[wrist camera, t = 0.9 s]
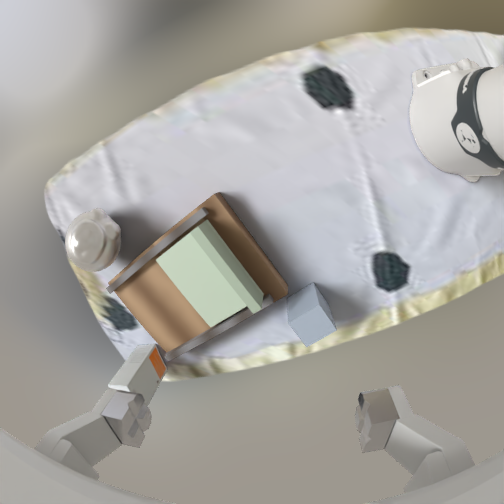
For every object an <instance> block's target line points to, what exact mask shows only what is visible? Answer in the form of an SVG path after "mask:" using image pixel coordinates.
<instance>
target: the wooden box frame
mask: <svg viewBox="0 0 504 504" xmlns="http://www.w3.org/2000/svg"><path fill="white" fill-rule="evenodd" d="M207 219H208V221H209V222H210V223H211V225H212V226H213V227H214V229H215V230H216V231H217V233H218V234H219V235H220V237H221V238H222V239H223V241H224V242H225V243H226V245H227V246H228V247H229V249H230V250H231V251H232V253H233V254H234V255H235V257H236V258H237V259H238V260H239V262H240V263H241V264H242V266H243V267H244V268H245V270H246V271H247V272H248V274H249V275H250V276H251V278H252V279H253V280H254V281H255V283H256V284H257V285H258V287H259V288H260V289H261V291H262V292H263V293H264V295H263V303H262V309H264V308H266V307H267V306H269V305H271V304H272V303H274V302H276V301H277V300H279V299H281V298H282V297H284V296H286V295H287V294H288V285H287V283H286V282H285V281H284V279H283V278H282V277H281V275H280V274H279V272H278V271H277V270H276V268H275V267H274V266H273V264H272V263H271V262H270V260H269V259H268V257H267V256H266V255H265V253H264V252H263V251H262V249H261V248H260V247H259V245H258V244H257V242H256V241H255V240H254V238H253V237H252V236H251V234H250V233H249V232H248V230H247V229H246V227H245V226H244V225H243V223H242V222H241V221H240V219H239V218H238V217H237V215H236V214H235V213H234V211H233V210H232V209H231V207H230V206H229V204H228V203H227V202H226V200H225V199H224V198H223V196H222V195H221V194H220V192H218V193H216V194H214V195H212V196H211V197H210V198H208V199H207V200H206V201H205V202H203V203H202V204H201V205H199V206H198V207H197V208H196V209H194V210H193V211H192V212H191V213H189V214H188V215H187V216H186V217H184V218H183V219H182V220H181V221H179V222H178V223H177V224H176V225H175V226H173V227H172V228H171V229H170V230H168V231H167V232H166V233H165V234H164V235H162V236H161V237H160V238H159V239H158V240H156V241H155V242H154V243H153V244H152V245H151V246H149V247H148V248H147V249H146V250H145V251H144V252H142V253H141V254H140V255H139V256H138V257H137V258H136V259H134V260H133V261H132V262H131V263H130V264H129V265H128V266H126V267H125V268H124V269H123V270H122V271H121V272H120V273H119V274H118V275H116V276H115V277H114V278H113V279H112V280H111V281H110V282H109V283H108V284H109V285H110V286H109V287H107V288H106V289H107V291H108V292H109V293H110V294H111V293H112V292H113V291H114V292H115V293H116V294H117V295H118V297H119V298H120V299H121V300H122V302H123V303H124V304H125V305H126V307H127V308H128V309H129V310H130V312H131V313H132V314H133V315H134V316H135V318H136V319H137V320H138V321H139V322H140V324H141V325H142V326H143V327H144V328H145V329H146V331H147V332H148V333H149V334H150V335H151V336H152V337H153V338H154V340H155V341H156V342H157V343H158V344H159V345H160V346H161V347H162V348H163V349H164V351H165V352H166V355H165V356H164V358H165V359H166V360H167V361H170V360H172V359H174V358H176V357H178V356H180V355H182V354H184V353H185V352H187V351H189V350H191V349H193V348H195V347H197V346H199V345H200V344H202V343H204V342H206V341H208V340H210V339H211V338H213V337H215V336H217V335H219V334H220V333H222V332H224V331H226V330H228V329H229V328H231V327H233V326H235V325H236V324H238V323H240V322H242V321H243V320H245V319H247V318H249V317H250V316H252V315H254V314H255V313H254V314H253V313H252V312H251V310H250V309H249V308H248V307H247V306H246V307H245V308H243V309H241V310H240V311H238V312H236V313H235V314H233V315H231V316H230V317H228V318H226V319H224V320H223V321H221V322H219V323H218V324H216V325H214V326H212V327H210V326H209V325H208V324H207V323H206V322H205V320H204V319H203V318H202V317H201V316H200V315H199V313H198V312H197V311H196V310H195V309H194V307H193V306H192V305H191V304H190V303H189V301H188V300H187V299H186V298H185V297H184V295H183V294H182V293H181V292H180V290H179V289H178V288H177V287H176V286H175V284H174V283H173V282H172V280H171V279H170V278H169V277H168V275H167V274H166V273H165V272H164V270H163V269H162V268H161V266H160V265H159V264H158V263H157V261H156V259H157V258H159V257H160V256H161V255H162V254H164V253H165V252H166V251H167V250H169V249H170V248H171V247H172V246H174V245H175V244H176V243H177V242H179V241H180V240H181V239H182V238H184V237H185V236H186V235H188V234H189V233H190V232H191V231H192V230H194V229H195V228H196V227H197V226H199V225H200V224H202V223H203V222H204V221H206V220H207ZM262 309H261V310H262ZM261 310H259V311H261ZM259 311H257V312H259ZM257 312H256V313H257Z"/></svg>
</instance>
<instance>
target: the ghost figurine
mask: <svg viewBox="0 0 504 504" xmlns="http://www.w3.org/2000/svg"><path fill="white" fill-rule="evenodd" d="M65 245H66V250H67V253H68V256H69V257H70V259H71V261H72V262H73V263H74V264H75V265H76V266H77V267H79V268H81V269H83V270H85V271H90V272H96V271H101V270H103V269H105V268H107V267H109V266H110V265H111V264H112V263H113V262H114V261H115V260H116V258H117V256H118V254H119V252H120V248H121V229H120V227H119V225H118V224H117V223H115V222H114V221H113V220H112V219H111V218H110V217H109V216H108V215H107V214H106V213H105V211H104V210H102V209H100V208H95V209H93V210H92V211H88V212H85V213H82V214H80V215H79V216H77V217H76V218H75V219H74V220H73V221H72V223H71V224H70V226H69V228H68V230H67V233H66V239H65Z"/></svg>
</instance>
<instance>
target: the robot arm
mask: <svg viewBox="0 0 504 504" xmlns="http://www.w3.org/2000/svg"><path fill="white" fill-rule="evenodd" d="M424 75H426V76H427V78H426V77H425V76H424ZM412 83H413V89H414V90H413V96H412V99H411V103H410V111H409V116H410V125H411V129H412V133H413V136H414V139H415V141H416V143H417V145H418V147H419V149H420V150H421V152H422V153H423V155H424V156H425V157H426V158H427V160H428V161H429V162H430V163H431V164H433V165H434V166H435V167H437V168H438V169H440V170H442V171H444V172H447V173H452V174H458V175H461V176H462V177H463V178H465V179H466V180H467V181H469V182H476V181H478V179H479V178H480V177H481V176H497V175H500V173H501V171H502V170H504V64H503V65H501V66H498V67H496V68H493V67H480V66H479V65H478V64H476V63H475V62H474V61H470V60H469V59H463V60H460V61H458V62H457V63H452V64H446V65H440V66H435V67H429V68H425V69H420V70H417V71H414V72H413V73H412ZM358 401H359V406H358V407H357V408H356V414H355V415H356V416H355V420H356V427H357V431H359V432H360V433H361V435H360V439H359V440H360V445H361V449H362V453H365V452H371V451H376V450H382V449H385V451H386V452H387V453H388V454H389V455H391V456H392V457H393V458H394V459H395V460H396V461H397V462H399V463H400V464H401V465H402V466H403V467H404V468H405V469H406V470H408V471H409V472H410V473H411V474H412V475H413V477H412V478H411V479H410V481H409V482H408V483H407V485H406V486H405V487H404V492H405V493H404V494H401V495H397V496H394V497H390V498H386V499H383V500H378V501H374V502H370V503H364V504H504V449H503V450H502V451H500V452H499V453H497V454H495V455H493V456H492V457H490V458H488V459H486V460H484V461H482V462H480V463H479V464H477V465H475V464H474V462H473V460H472V457H471V455H470V453H469V451H468V449H467V447H466V445H465V443H464V441H463V440H462V439H460V438H458V437H457V436H455V435H453V434H451V433H449V432H447V431H446V430H444V429H442V428H440V427H439V426H437V425H435V424H433V423H432V422H430V421H428V420H426V419H425V418H423V417H421V416H420V415H418V414H417V415H414V414H413V411H412V409H411V407H410V405H409V403H408V401H407V398H406V396H405V394H404V392H403V390H402V388H401V386H399V385H397V386H392V387H388V388H383V389H377V390H372V391H366V392H361V393H360V394H359V398H358ZM144 402H145V399H144V397H143V395H142V394H139V393H133V392H128V391H123V390H117V389H113V388H109V389H107V390H106V391H105V392H104V394H103V395H102V397H101V398H100V400H99V401H98V402H97V404H96V405H95V407H94V408H93V410H92V411H91V412H86V413H84V414H82V415H80V416H78V417H76V418H74V419H72V420H70V421H68V422H66V423H64V424H62V425H59V426H57V427H55V428H53V429H51V430H49V431H47V433H46V434H45V435H44V437H43V438H42V439H41V441H40V442H39V443H38V445H37V446H36V448H35V449H33V448H31V447H29V446H28V445H26V444H24V443H23V442H21V441H20V440H18V439H17V438H15V437H14V436H12V435H10V434H9V433H8V432H6V431H5V430H3V429H2V428H1V427H0V504H177V503H171V502H167V501H163V500H158V499H155V498H151V497H147V496H143V495H139V494H136V493H133V492H130V491H126V490H123V489H120V488H117V487H115V486H112V485H109V484H106V483H104V482H101V481H98V478H99V474H98V473H97V472H96V471H95V470H94V469H93V468H92V467H93V466H94V465H95V464H97V463H98V462H100V461H101V460H102V459H104V458H105V457H106V456H108V455H109V454H111V453H112V452H113V451H114V450H116V449H117V448H119V447H120V446H121V445H122V444H124V445H128V446H133V447H138V448H139V447H140V446H141V444H142V441H143V439H144V437H145V435H144V431H145V430H147V429H149V426H150V424H151V412H150V409H149V408H148V407H147V406H146V405H145V404H144Z"/></svg>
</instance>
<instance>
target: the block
mask: <svg viewBox="0 0 504 504" xmlns="http://www.w3.org/2000/svg"><path fill="white" fill-rule="evenodd" d="M287 310H288V324H289V325H290V326H291V328H292V329H293V330H294V332H295V333H296V334H297V335H298V337H299V338H300V339H301V341H302V342H303V343H304V344H305V346H306V347H308V346H310V345H311V344H313V343H315V342H317V341H319V340H320V339H322V338H324V337H326V336H328V335H329V334H331V333H333V332H334V331H336V330H337V329H336V326H335V323H334V320H333V317H332V313H331V310H330V307H329V305H328V303H327V302H326V300H325V299H324V297H323V296H322V294H321V293H320V291H319V290H318V288H317V287H316V285H315V284H314V282H313V283H311V284H310V285H308V286H306V287H305V288H303V289H302V290H300V291H298V292H297V293H295V294H294V295H292V296H290V297H289V298H287Z"/></svg>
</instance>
